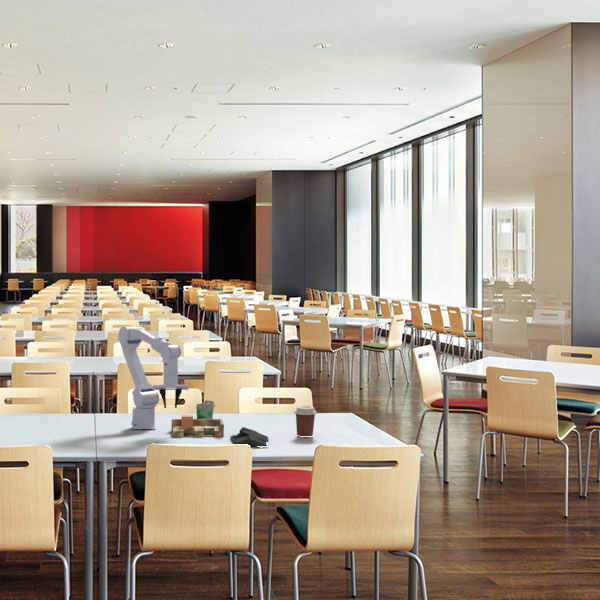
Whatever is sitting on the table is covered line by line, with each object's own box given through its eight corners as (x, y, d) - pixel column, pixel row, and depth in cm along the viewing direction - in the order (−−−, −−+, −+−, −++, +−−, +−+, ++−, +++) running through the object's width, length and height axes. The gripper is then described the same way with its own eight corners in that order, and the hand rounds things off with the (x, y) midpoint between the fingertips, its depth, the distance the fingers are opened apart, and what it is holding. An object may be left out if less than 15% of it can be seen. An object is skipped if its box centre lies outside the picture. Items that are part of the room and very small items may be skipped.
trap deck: (172, 437, 333) (172, 424, 333) (171, 431, 346) (171, 419, 346) (223, 436, 336) (223, 424, 336) (221, 430, 349) (221, 418, 349)
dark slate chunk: (229, 449, 314) (230, 436, 314) (230, 438, 336) (230, 426, 336) (270, 449, 316) (270, 437, 315) (268, 438, 338) (268, 426, 337)
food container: (209, 428, 354) (210, 404, 354) (195, 427, 356) (196, 404, 355) (218, 423, 367) (218, 400, 366) (204, 422, 368) (205, 400, 368)
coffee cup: (290, 435, 343) (290, 406, 343) (310, 433, 347) (311, 405, 347) (298, 439, 335) (299, 409, 335) (319, 438, 339) (320, 408, 338)
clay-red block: (181, 427, 340) (181, 416, 340) (181, 425, 345) (181, 414, 345) (192, 427, 341) (193, 416, 341) (192, 425, 346) (192, 414, 346)
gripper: (152, 375, 336) (152, 409, 336) (188, 375, 338) (188, 408, 339) (152, 373, 343) (152, 406, 343) (188, 373, 345) (188, 406, 346)
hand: (170, 407), depth 341 cm, fingers open, 4 cm apart
